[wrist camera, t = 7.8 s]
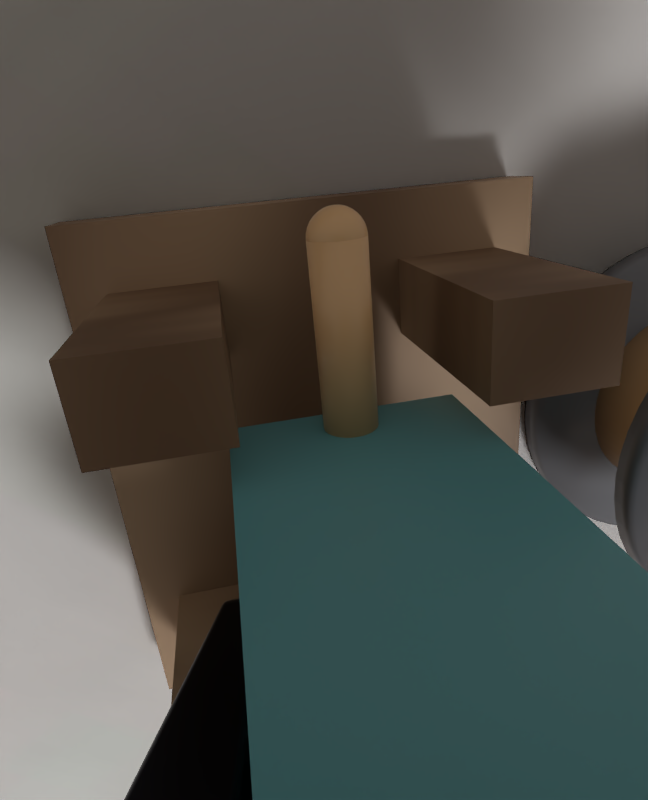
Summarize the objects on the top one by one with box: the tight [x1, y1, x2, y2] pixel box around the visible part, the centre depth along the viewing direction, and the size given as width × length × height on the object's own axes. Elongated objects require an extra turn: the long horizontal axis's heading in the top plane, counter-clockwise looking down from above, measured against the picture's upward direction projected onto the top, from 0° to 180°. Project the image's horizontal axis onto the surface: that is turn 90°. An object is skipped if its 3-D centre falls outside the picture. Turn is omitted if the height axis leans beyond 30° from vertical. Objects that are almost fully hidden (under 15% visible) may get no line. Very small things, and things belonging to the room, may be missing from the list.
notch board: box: [45, 176, 633, 706], centre depth 10 cm, size 9×11×7 cm
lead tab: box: [230, 205, 648, 800], centre depth 7 cm, size 4×8×7 cm, turn 5°
